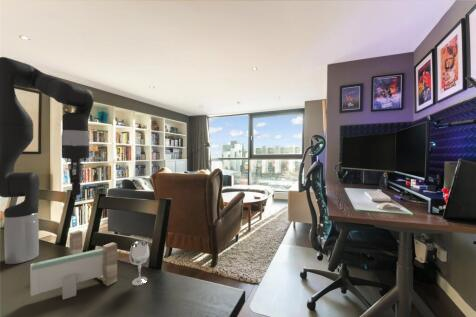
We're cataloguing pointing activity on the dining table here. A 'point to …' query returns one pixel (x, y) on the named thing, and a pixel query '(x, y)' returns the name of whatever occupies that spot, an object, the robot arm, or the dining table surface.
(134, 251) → the wineglass
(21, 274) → the dining table surface
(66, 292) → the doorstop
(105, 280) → the gate frame
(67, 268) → the panel
